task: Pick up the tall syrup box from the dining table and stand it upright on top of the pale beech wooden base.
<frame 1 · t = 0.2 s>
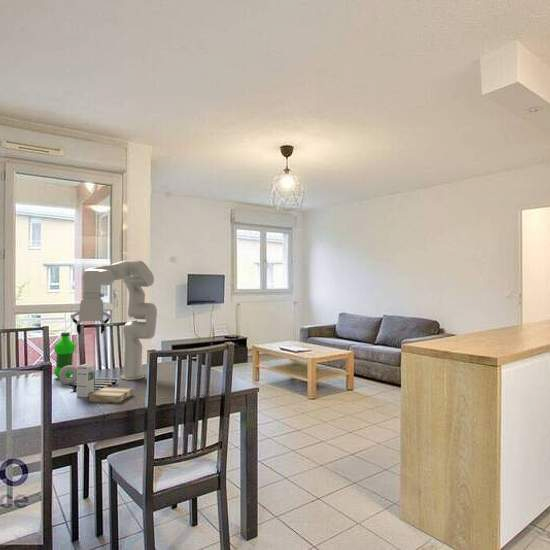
hand: (90, 333, 193), 30 cm above the table, tool pointing down, fingers open, 9 cm apart
plastic bottle: (63, 378, 232), on the table
beech base: (111, 397, 196), on the table
syrup box: (85, 395, 199), on the table
donut: (68, 384, 218), on the table
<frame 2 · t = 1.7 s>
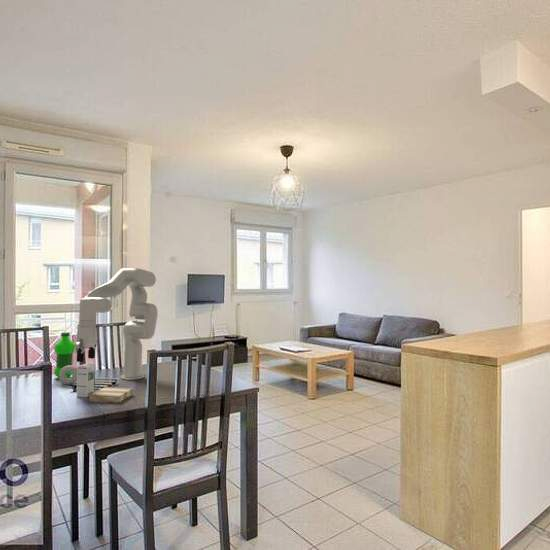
hand: (85, 359, 199), 17 cm above the table, tool pointing down, fingers open, 9 cm apart
nothing on the table moved.
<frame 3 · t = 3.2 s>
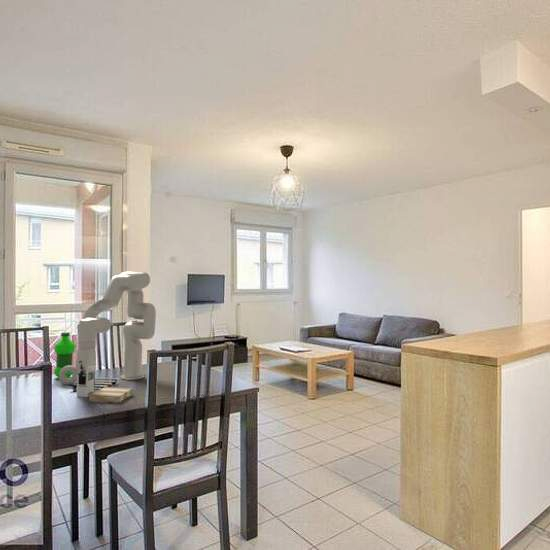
hand: (85, 382, 199), 6 cm above the table, tool pointing down, fingers closed on syrup box, 6 cm apart
syrup box: (85, 395, 199), on the table, touching gripper
everything else where it was.
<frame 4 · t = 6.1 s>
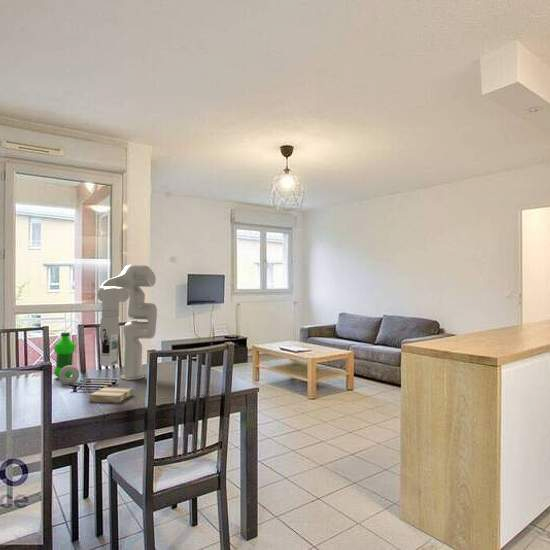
hand: (109, 351, 197), 22 cm above the table, tool pointing down, fingers closed on syrup box, 6 cm apart
syrup box: (108, 365, 197), point 15 cm above the table, touching gripper
everything else where it was.
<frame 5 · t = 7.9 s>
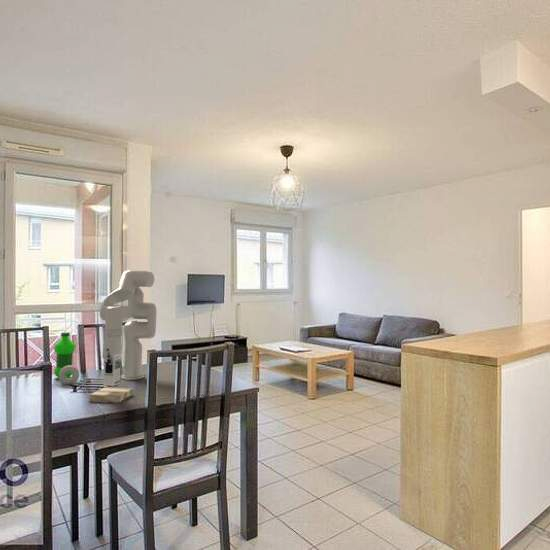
hand: (112, 371, 196), 13 cm above the table, tool pointing down, fingers closed on syrup box, 6 cm apart
syrup box: (111, 384, 196), point 6 cm above the table, touching gripper
everything else where it was.
when the fingers open (10 cm above the table, at t = 9.2 s): syrup box drops 1 cm, resting on beech base.
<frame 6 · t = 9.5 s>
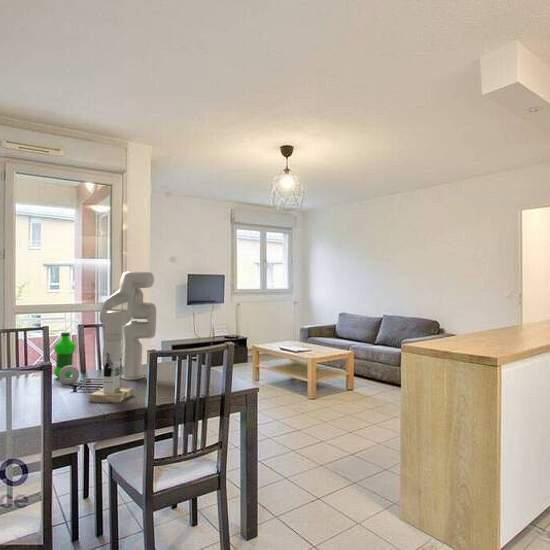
hand: (112, 374, 196), 11 cm above the table, tool pointing down, fingers open, 8 cm apart
syrup box: (111, 391, 196), point 3 cm above the table, touching beech base
everything else where it was.
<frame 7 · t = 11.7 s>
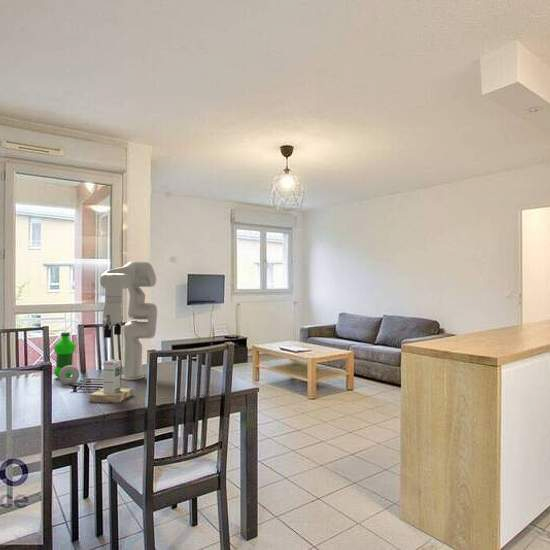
hand: (112, 336, 198), 29 cm above the table, tool pointing down, fingers open, 9 cm apart
nothing on the table moved.
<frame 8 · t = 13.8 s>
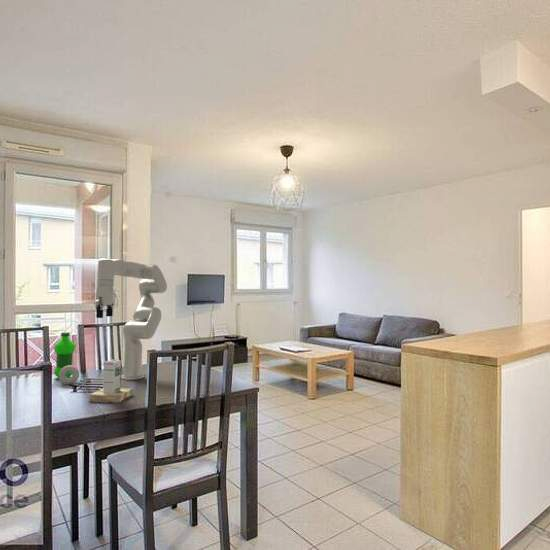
hand: (104, 317, 211), 36 cm above the table, tool pointing down, fingers open, 9 cm apart
nothing on the table moved.
at the end: syrup box inside the target area on the beech base (0.0 cm from its centre), point 2.8 cm above the beech base's base; syrup box tilted 0°; the gripper is holding nothing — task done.
